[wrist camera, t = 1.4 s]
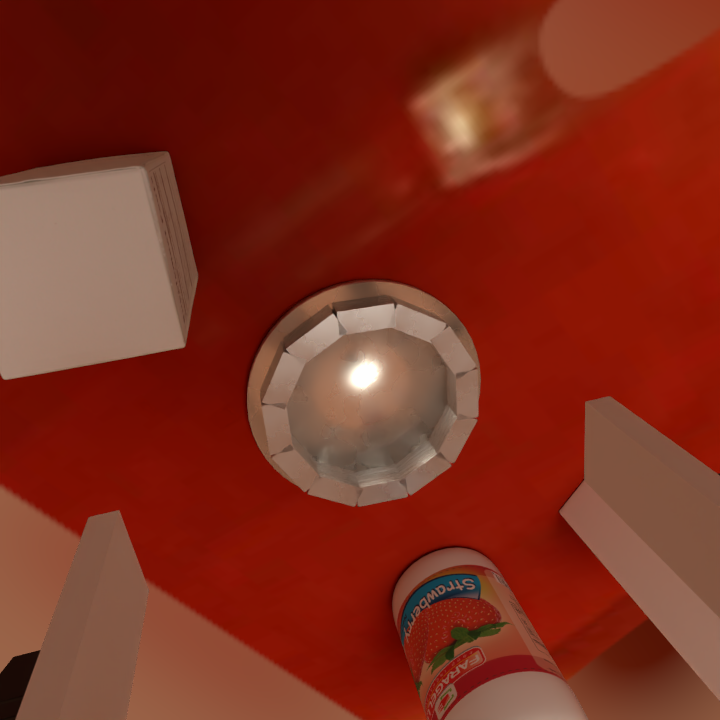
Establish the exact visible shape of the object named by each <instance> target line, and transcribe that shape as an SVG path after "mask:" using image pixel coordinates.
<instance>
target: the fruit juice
mask: <svg viewBox="0 0 720 720" xmlns="http://www.w3.org/2000/svg"><path fill="white" fill-rule="evenodd" d="M392 611H393V617H394V621H395V624H396V627H397V630H398V634H399V637H400V640H401V643H402V646H403V649H404V652H405V655H406V658H407V661H408V664H409V667H410V670H411V673H412V676H413V679H414V682H415V685H416V688H417V691H418V694H419V697H420V700H421V703H422V706H423V709H424V712H425V715H426V718H427V720H588V718H587V716H586V715H585V713H584V711H583V709H582V707H581V706H580V703H579V701H578V700H577V698H576V696H575V694H574V693H573V691H572V690H571V688H570V687H569V685H568V684H567V682H566V680H565V679H564V677H563V675H562V674H561V672H560V670H559V669H558V667H557V666H556V664H555V662H554V661H553V659H552V657H551V656H550V654H549V652H548V651H547V649H546V647H545V646H544V644H543V642H542V641H541V639H540V637H539V636H538V634H537V632H536V631H535V629H534V627H533V626H532V624H531V622H530V621H529V619H528V618H527V616H526V614H525V613H524V611H523V609H522V608H521V606H520V604H519V603H518V601H517V599H516V598H515V596H514V594H513V593H512V591H511V589H510V588H509V586H508V585H507V583H506V581H505V580H504V578H503V576H502V575H501V573H500V571H499V570H498V569H497V567H496V566H495V565H494V564H493V563H492V562H491V561H490V560H489V559H488V558H487V557H485V556H484V555H483V554H481V553H479V552H477V551H474V550H471V549H467V548H446V549H441V550H438V551H435V552H432V553H430V554H428V555H426V556H424V557H422V558H420V559H419V560H417V561H416V562H415V563H413V564H412V565H411V566H410V567H409V568H408V569H407V570H406V571H405V572H404V573H403V575H402V576H401V577H400V579H399V581H398V583H397V585H396V587H395V590H394V593H393V599H392Z"/></svg>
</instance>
